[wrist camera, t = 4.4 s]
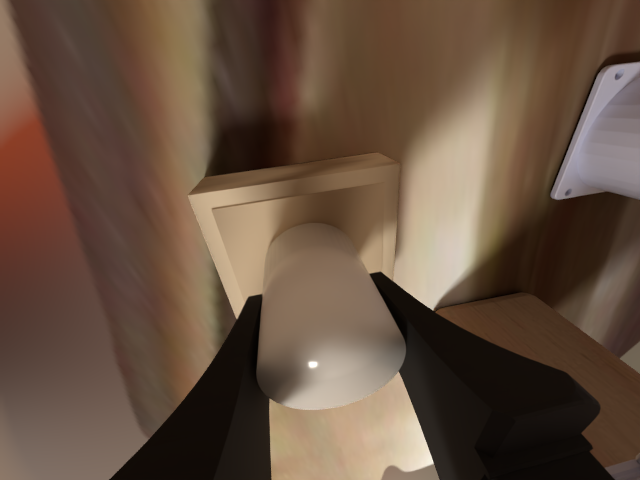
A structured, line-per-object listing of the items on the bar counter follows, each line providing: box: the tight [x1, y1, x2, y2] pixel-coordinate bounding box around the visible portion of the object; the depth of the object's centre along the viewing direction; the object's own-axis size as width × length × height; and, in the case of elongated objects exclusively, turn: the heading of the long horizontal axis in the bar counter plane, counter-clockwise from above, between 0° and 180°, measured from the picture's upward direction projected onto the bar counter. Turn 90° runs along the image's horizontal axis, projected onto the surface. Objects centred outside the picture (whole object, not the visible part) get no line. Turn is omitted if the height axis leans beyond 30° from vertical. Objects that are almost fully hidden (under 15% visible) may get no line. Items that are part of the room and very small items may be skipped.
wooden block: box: [436, 292, 640, 468], centre depth 16 cm, size 10×10×20 cm
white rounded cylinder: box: [256, 223, 406, 410], centre depth 11 cm, size 5×5×6 cm
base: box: [188, 152, 401, 319], centre depth 15 cm, size 10×10×3 cm
